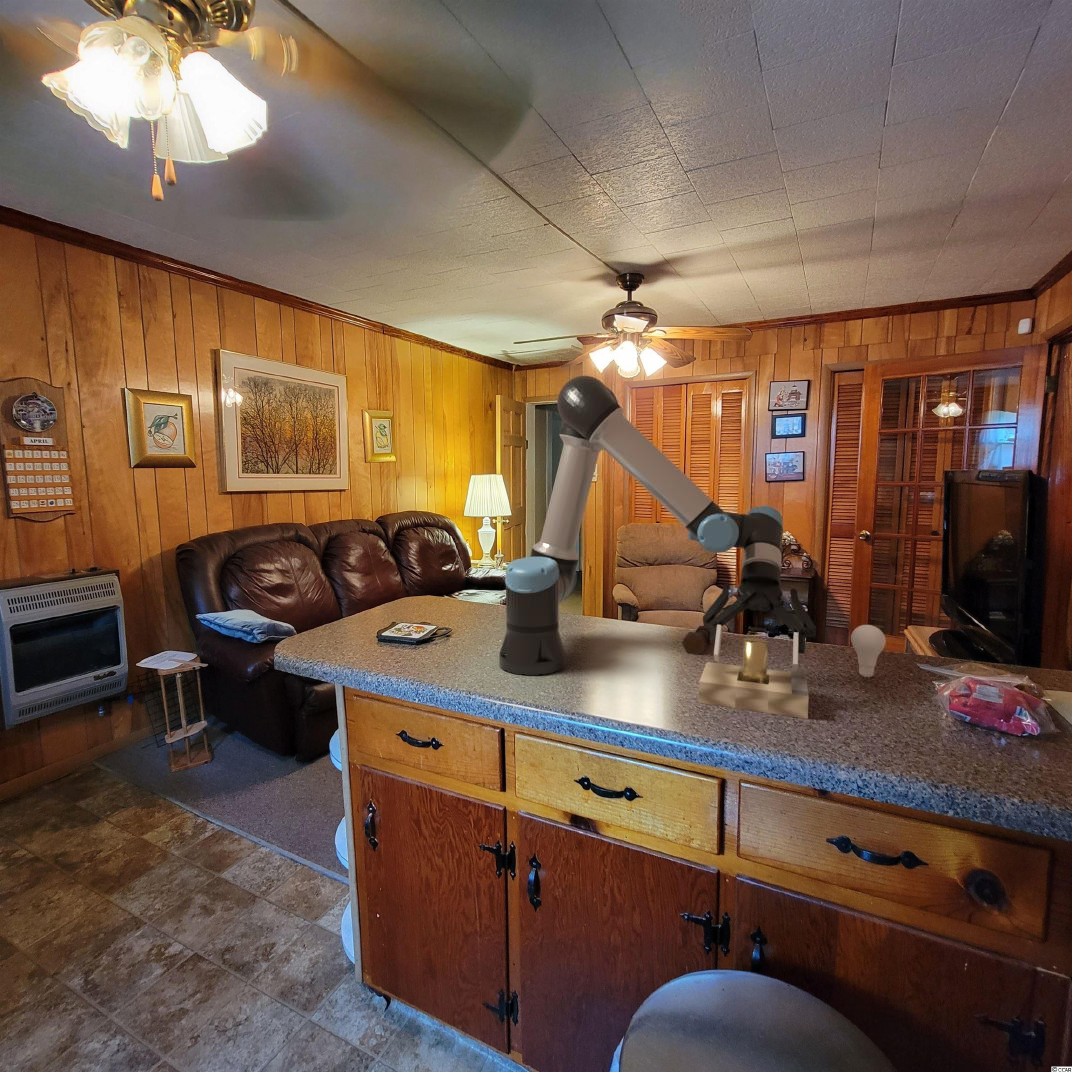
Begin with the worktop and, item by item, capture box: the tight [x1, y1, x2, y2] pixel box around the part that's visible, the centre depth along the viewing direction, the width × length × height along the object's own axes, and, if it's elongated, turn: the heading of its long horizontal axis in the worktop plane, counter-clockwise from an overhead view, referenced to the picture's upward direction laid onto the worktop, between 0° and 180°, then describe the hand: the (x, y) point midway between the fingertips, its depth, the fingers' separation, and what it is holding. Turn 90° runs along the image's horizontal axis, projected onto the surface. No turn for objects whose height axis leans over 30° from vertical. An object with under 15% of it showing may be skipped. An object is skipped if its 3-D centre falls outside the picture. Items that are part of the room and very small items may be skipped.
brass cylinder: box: [742, 637, 769, 684], centre depth 102 cm, size 4×4×11 cm
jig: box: [698, 661, 809, 720], centre depth 103 cm, size 18×12×5 cm, turn 66°
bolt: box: [681, 625, 711, 656], centre depth 136 cm, size 6×5×15 cm
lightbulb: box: [850, 624, 887, 678], centre depth 113 cm, size 6×6×11 cm
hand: (754, 662), depth 102 cm, fingers open, 13 cm apart
